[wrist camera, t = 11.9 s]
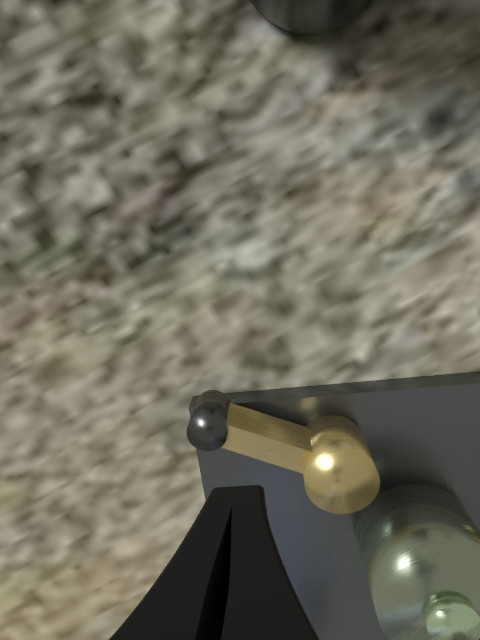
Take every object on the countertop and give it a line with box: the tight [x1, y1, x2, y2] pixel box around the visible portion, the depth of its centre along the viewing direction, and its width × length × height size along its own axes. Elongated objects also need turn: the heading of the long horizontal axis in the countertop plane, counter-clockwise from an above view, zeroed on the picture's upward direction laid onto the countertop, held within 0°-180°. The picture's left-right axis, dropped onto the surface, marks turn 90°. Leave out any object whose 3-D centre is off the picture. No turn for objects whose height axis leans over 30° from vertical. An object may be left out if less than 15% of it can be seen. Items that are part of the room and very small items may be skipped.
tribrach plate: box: [189, 372, 480, 640], centre depth 19 cm, size 17×22×6 cm
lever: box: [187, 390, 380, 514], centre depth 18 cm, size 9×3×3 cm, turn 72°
